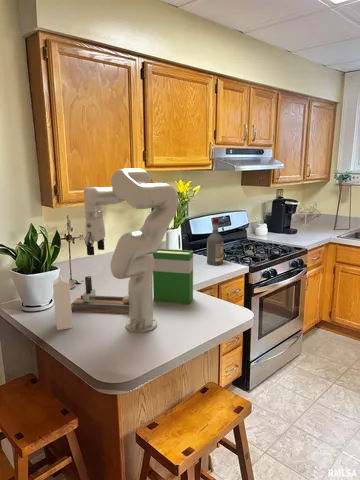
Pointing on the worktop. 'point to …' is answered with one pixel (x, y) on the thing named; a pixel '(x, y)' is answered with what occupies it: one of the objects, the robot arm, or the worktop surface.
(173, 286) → the hardback book
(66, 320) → the milk
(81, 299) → the press base
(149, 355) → the worktop surface
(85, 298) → the press jaw
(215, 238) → the liquor
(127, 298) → the walnut
